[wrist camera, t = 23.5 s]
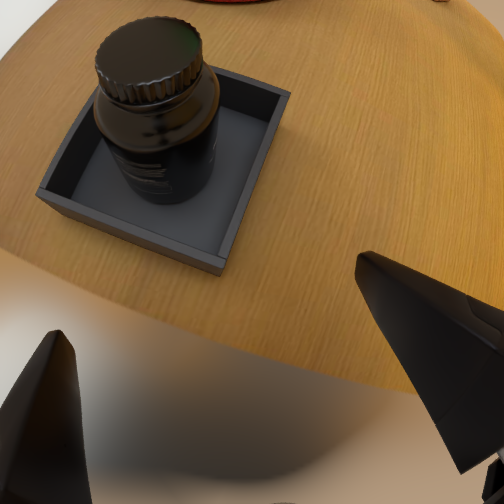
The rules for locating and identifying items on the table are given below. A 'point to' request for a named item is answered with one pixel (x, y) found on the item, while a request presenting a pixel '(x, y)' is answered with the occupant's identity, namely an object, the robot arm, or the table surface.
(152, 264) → the table surface
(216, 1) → the table lamp
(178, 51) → the supplement bottle
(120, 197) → the bin
